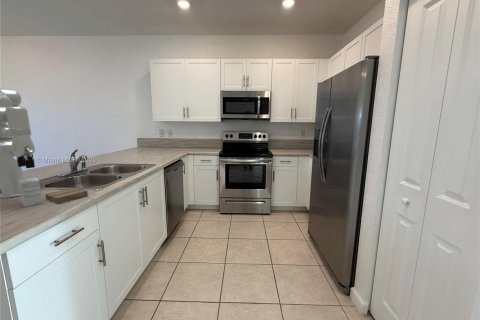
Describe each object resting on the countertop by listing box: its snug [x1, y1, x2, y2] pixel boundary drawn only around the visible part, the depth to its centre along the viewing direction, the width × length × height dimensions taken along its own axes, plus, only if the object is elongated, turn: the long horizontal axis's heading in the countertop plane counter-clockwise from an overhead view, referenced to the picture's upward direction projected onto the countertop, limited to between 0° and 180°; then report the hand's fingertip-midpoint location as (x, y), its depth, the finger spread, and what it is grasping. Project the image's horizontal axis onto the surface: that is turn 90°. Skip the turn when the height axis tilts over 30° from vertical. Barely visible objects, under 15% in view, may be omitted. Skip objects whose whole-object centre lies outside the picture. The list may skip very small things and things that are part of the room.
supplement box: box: [18, 177, 44, 208], centre depth 113 cm, size 7×7×13 cm
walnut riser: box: [44, 187, 89, 205], centre depth 122 cm, size 14×14×3 cm
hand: (26, 167), depth 110 cm, fingers open, 9 cm apart
